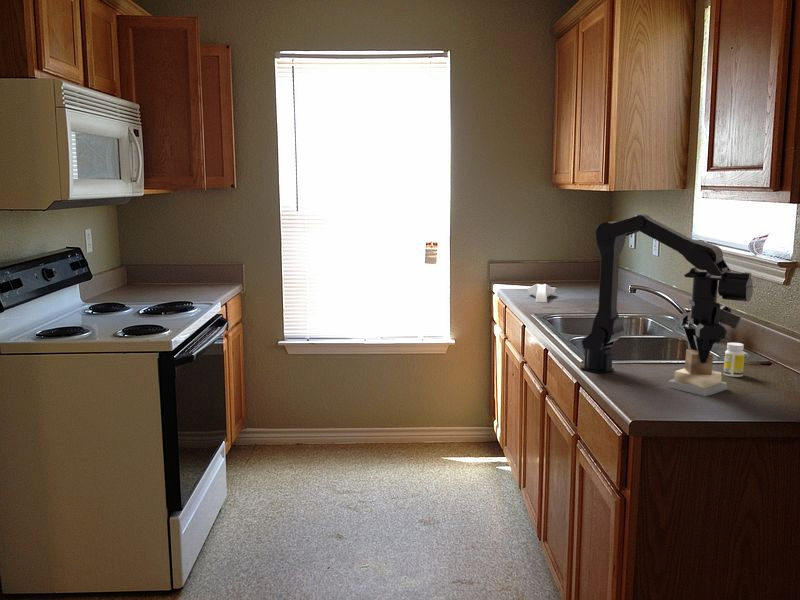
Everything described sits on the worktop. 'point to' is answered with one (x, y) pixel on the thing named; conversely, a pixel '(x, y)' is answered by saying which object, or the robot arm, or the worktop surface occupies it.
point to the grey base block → (698, 388)
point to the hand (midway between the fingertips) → (699, 359)
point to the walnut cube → (698, 363)
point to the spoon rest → (541, 292)
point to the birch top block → (697, 378)
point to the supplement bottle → (734, 360)
